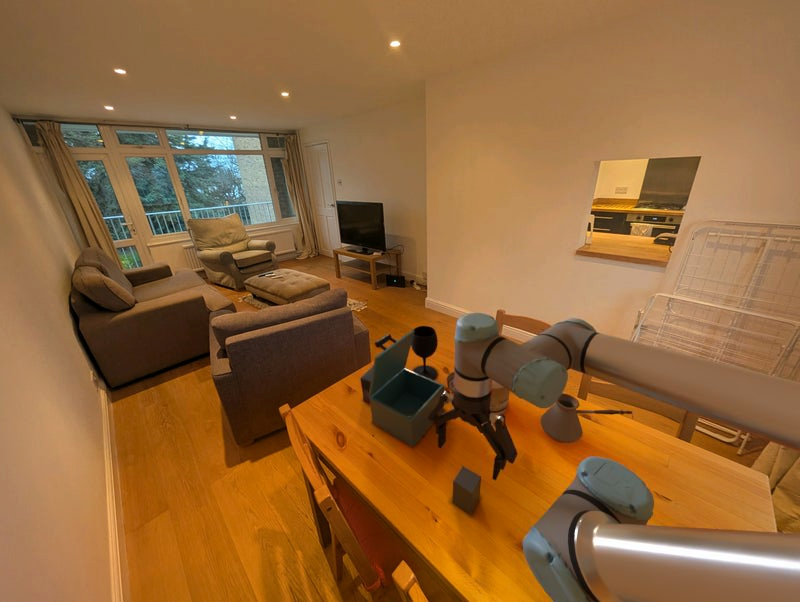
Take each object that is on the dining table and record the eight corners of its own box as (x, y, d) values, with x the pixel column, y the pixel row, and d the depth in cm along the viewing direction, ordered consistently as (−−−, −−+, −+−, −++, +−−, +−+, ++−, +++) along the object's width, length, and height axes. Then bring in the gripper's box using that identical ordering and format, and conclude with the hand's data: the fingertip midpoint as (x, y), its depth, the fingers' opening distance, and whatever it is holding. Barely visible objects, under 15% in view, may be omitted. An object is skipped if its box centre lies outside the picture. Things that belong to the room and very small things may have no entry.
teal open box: (443, 409, 101) (444, 385, 97) (412, 447, 88) (411, 420, 84) (405, 391, 111) (404, 367, 107) (372, 422, 98) (369, 397, 93)
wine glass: (409, 379, 117) (407, 336, 109) (415, 364, 126) (414, 323, 118) (434, 383, 114) (434, 339, 106) (439, 367, 123) (439, 326, 115)
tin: (486, 389, 109) (488, 370, 106) (488, 395, 107) (490, 376, 103) (446, 388, 111) (446, 370, 107) (446, 394, 108) (447, 375, 105)
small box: (378, 383, 116) (376, 361, 112) (392, 388, 113) (390, 366, 108) (362, 400, 108) (359, 377, 103) (376, 406, 105) (374, 382, 100)
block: (479, 497, 74) (481, 476, 71) (470, 514, 70) (472, 493, 67) (461, 486, 77) (462, 465, 74) (452, 502, 73) (453, 481, 70)
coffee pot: (537, 439, 88) (544, 401, 82) (540, 413, 98) (547, 377, 91) (623, 469, 79) (639, 428, 73) (618, 437, 88) (632, 398, 82)
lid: (414, 330, 97) (399, 321, 99) (377, 358, 83) (361, 346, 86) (405, 367, 106) (392, 358, 109) (370, 397, 93) (356, 385, 96)
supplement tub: (513, 401, 103) (519, 362, 96) (498, 422, 95) (502, 380, 88) (482, 387, 111) (484, 349, 104) (465, 405, 103) (467, 365, 96)
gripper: (543, 400, 55) (528, 476, 63) (430, 357, 69) (430, 423, 78) (531, 427, 49) (517, 505, 58) (411, 374, 64) (414, 443, 72)
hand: (467, 458), depth 68 cm, fingers open, 13 cm apart
